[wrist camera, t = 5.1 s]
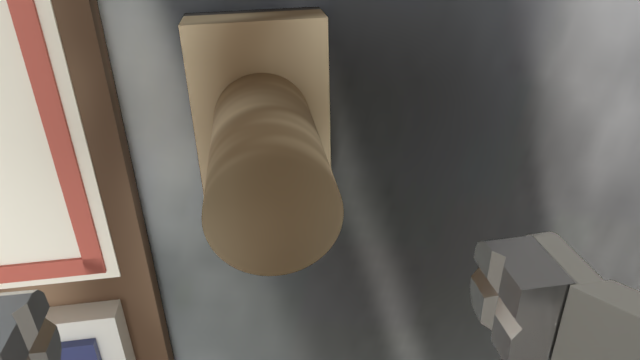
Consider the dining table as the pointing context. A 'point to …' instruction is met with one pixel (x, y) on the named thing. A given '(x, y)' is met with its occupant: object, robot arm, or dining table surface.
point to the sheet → (45, 160)
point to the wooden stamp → (263, 135)
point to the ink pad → (92, 331)
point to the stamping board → (109, 187)
